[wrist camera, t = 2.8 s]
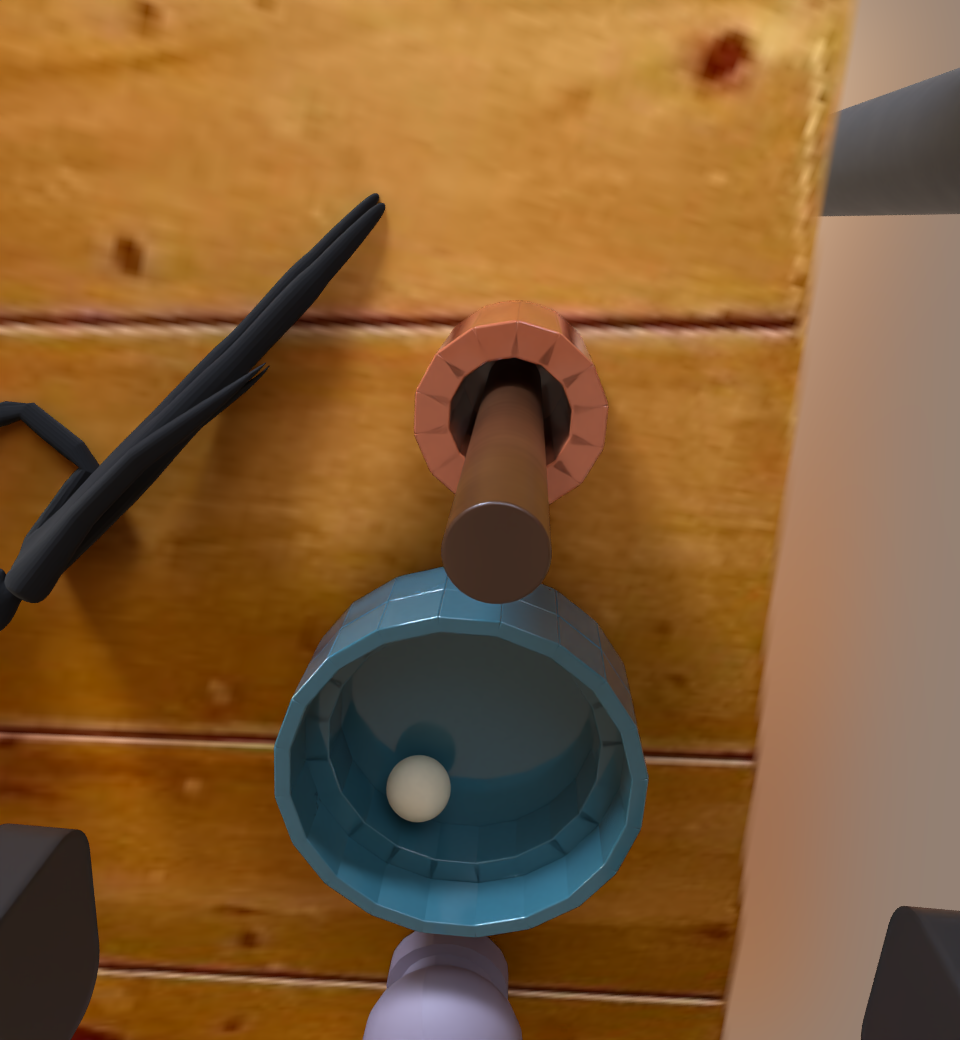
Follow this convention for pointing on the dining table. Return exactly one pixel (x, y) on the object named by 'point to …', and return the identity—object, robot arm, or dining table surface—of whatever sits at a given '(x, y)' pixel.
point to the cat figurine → (445, 992)
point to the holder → (564, 383)
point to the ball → (418, 788)
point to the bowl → (463, 757)
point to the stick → (502, 493)
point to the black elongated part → (163, 421)
